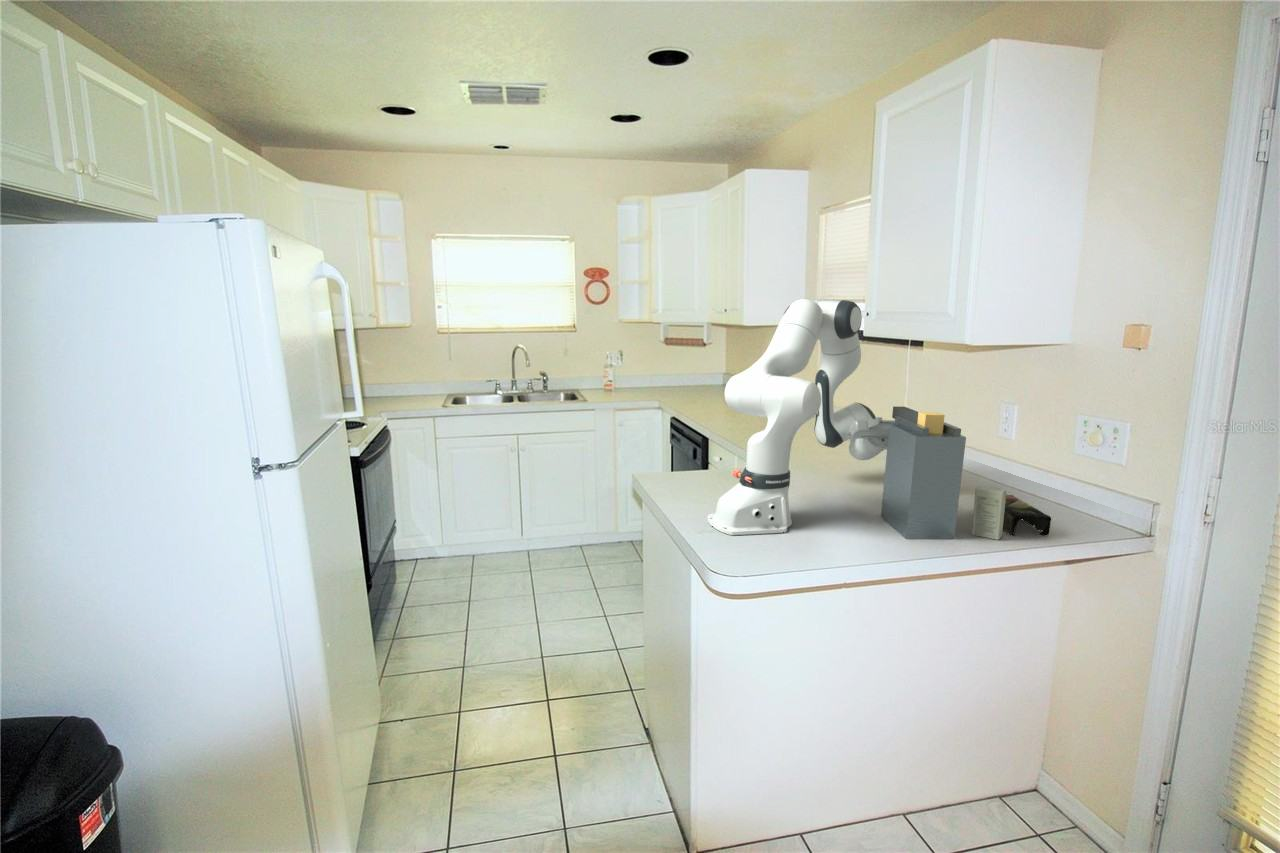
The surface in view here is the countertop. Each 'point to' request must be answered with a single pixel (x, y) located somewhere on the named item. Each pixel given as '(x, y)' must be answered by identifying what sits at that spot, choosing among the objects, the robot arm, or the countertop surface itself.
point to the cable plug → (922, 418)
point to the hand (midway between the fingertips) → (896, 420)
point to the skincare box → (988, 512)
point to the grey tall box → (922, 480)
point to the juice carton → (1024, 516)
